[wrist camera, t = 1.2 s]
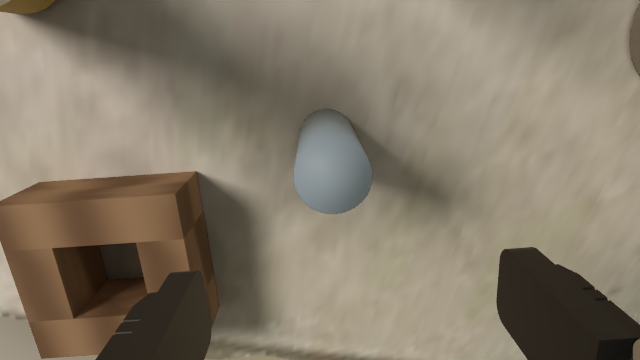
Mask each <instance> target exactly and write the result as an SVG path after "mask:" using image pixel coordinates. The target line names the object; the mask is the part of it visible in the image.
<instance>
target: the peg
mask: <svg viewBox="0 0 640 360" xmlns="http://www.w3.org/2000/svg"><path fill="white" fill-rule="evenodd" d="M372 176H373V174H372V167H371V164H370V161H369V159H368V157H367V155H366V153H365V151H364V149H363V147H362V145H361V144H360V142H359V140H358V138H357V136H356V134H355V132H354V130H353V128H352V126H351V124H350V122H349V121H348V119H347V118H346V117H345V116H344V115H342V114H341V113H339V112H337V111H334V110H329V109H324V110H319V111H316V112H314V113H312V114H311V115H309V116H308V117H307V118H306V119H305V121H304V122H303V124H302V126H301V129H300V134H299V140H298V147H297V154H296V160H295V167H294V175H293V177H294V185H295V189H296V191H297V193H298V195H299V197H300V198H301V199H302V201H303V202H304V203H305V204H306V205H308V206H309V207H310V208H312V209H314V210H316V211H318V212H322V213H326V214H338V213H343V212H346V211H349V210H351V209H353V208H355V207H356V206H357V205H359V204H360V203H361V202H362V201H363V200H364V199H365V197H366V196H367V194H368V192H369V190H370V187H371V184H372Z"/></svg>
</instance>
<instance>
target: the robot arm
mask: <svg viewBox="0 0 640 360" xmlns="http://www.w3.org/2000/svg"><path fill="white" fill-rule="evenodd" d="M630 51H631V58H632V61H633V63H634V65H635V68H636V70H637V72H638V73H639V74H640V4H639V7H638V9H637V11H636V13H635V15H634V19H633V23H632V27H631V32H630ZM497 310H498V314H499V317H500V319H501V322H502V324H503V325H504V327H505V328H506V329H507V331H508V332H509V334H510V335H511V337H512V338H513V339H514V341H515V342H516V344H517V345H518V346H519V348H520V349H521V351H522V352H523V354H524V355H525V356H526V358H527V359H528V360H640V325H639V324H638V323H637V322H636V321H634V320H633V319H632V318H631V317H630V316H628V315H627V314H626V313H625V312H624V311H622V310H621V309H620V308H619V307H618V306H616V305H615V304H614V303H613V302H612V301H608V300H607V297H606V296H604V295H603V294H602V293H601V292H600V291H598V290H595V289H594V286H592V285H591V284H590V283H589V282H588V281H586V280H585V279H584V278H583V277H582V276H580V275H579V274H577V273H575V272H573V271H571V270H569V269H567V268H565V267H563V266H561V265H558V264H557V265H555V264H554V263H553V262H551V261H550V260H549V259H548V258H547V257H546V256H545V255H543V254H542V253H541V252H540V251H539V250H538V249H536V248H534V247H529V248H515V249H504V250H503V251H502V253H501V256H500V264H499V276H498V288H497ZM210 339H211V318H210V313H209V307H208V301H207V296H206V290H205V285H204V279H203V275H202V273H201V271H199V270H196V271H182V272H171V273H169V275H168V276H167V278H166V279H165V281H164V282H163V284H162V286H161V287H160V289H159V290H158V292H153V293H149V294H147V295H146V296H145V297H144V298H142V299H141V300H140V301H138V302H137V303H136V304H135V305H133V307H132V308H131V309H130V311H129V312H128V314H127V315H126V317H125V318H124V320H123V323H121V324H120V325H119V327H118V328H117V330H116V331H115V335H112V337H111V338H110V340H109V341H108V343H107V344H106V345H105V347H104V348H103V350H102V351H101V353H100V354H99V356H98V357H97V359H96V360H204V359H205V356H206V353H207V350H208V347H209V344H210Z"/></svg>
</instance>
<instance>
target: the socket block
mask: <svg viewBox="0 0 640 360" xmlns="http://www.w3.org/2000/svg"><path fill="white" fill-rule="evenodd" d="M0 241H1V244H2V247H3V250H4V253H5V256H6V259H7V261H8V264H9V267H10V270H11V273H12V276H13V279H14V281H15V284H16V287H17V290H18V293H19V296H20V299H21V302H22V304H23V307H24V310H25V313H26V316H27V319H28V322H29V324H30V327H31V330H32V333H33V336H34V339H35V342H36V344H37V347H38V350H39V353H40V356H41V358H56V357H71V356H86V355H99V354H100V353H101V351H102V350H103V348H104V347H105V345H106V344H107V343H108V341H109V340H110V338H111V337H112V335H115V331H116V330H117V328H118V327H119V325H120V324H121V323H123V320H124V318H125V317H126V315H127V314H128V312H129V311H130V309H131V308H132V307H133V305H135V304H136V303H137V302H138V301H140V300H141V299H142V298H144V297H145V296H146V295H147V294H149V293H153V292H158V290H159V289H160V287H161V286H162V284H163V282H164V281H165V279H166V278H167V276H168V275H169V273H171V272H182V271H196V270H199V271H201V273H202V275H203V279H204V285H205V290H206V296H207V301H208V307H209V313H210V318H211V328H212V325H213V322H214V319H215V317H216V314H217V311H218V308H219V301H218V295H217V289H216V283H215V277H214V271H213V265H212V259H211V254H210V248H209V242H208V236H207V230H206V224H205V218H204V212H203V206H202V201H201V195H200V189H199V183H198V177H197V171H196V172H182V173H167V174H153V175H138V176H124V177H109V178H95V179H80V180H66V181H51V182H39V183H37V184H35V185H33V186H31V187H29V188H26V189H24V190H22V191H20V192H18V193H16V194H14V195H12V196H10V197H8V198H6V199H4V200H2V201H0ZM121 243H136V246H137V250H138V254H139V259H140V263H141V267H142V272H143V276H144V278H134V279H119V280H108V279H107V275H106V271H105V268H104V264H103V260H102V256H101V252H100V249H99V245H106V244H121Z"/></svg>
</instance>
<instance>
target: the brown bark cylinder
mask: <svg viewBox="0 0 640 360" xmlns="http://www.w3.org/2000/svg"><path fill="white" fill-rule="evenodd" d="M55 1H56V0H0V12H8V13H16V14H29V13H35V12H39V11H41V10H44V9H46V8H47V7H49V6H50V5H52V4H53V3H54V2H55Z"/></svg>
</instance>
